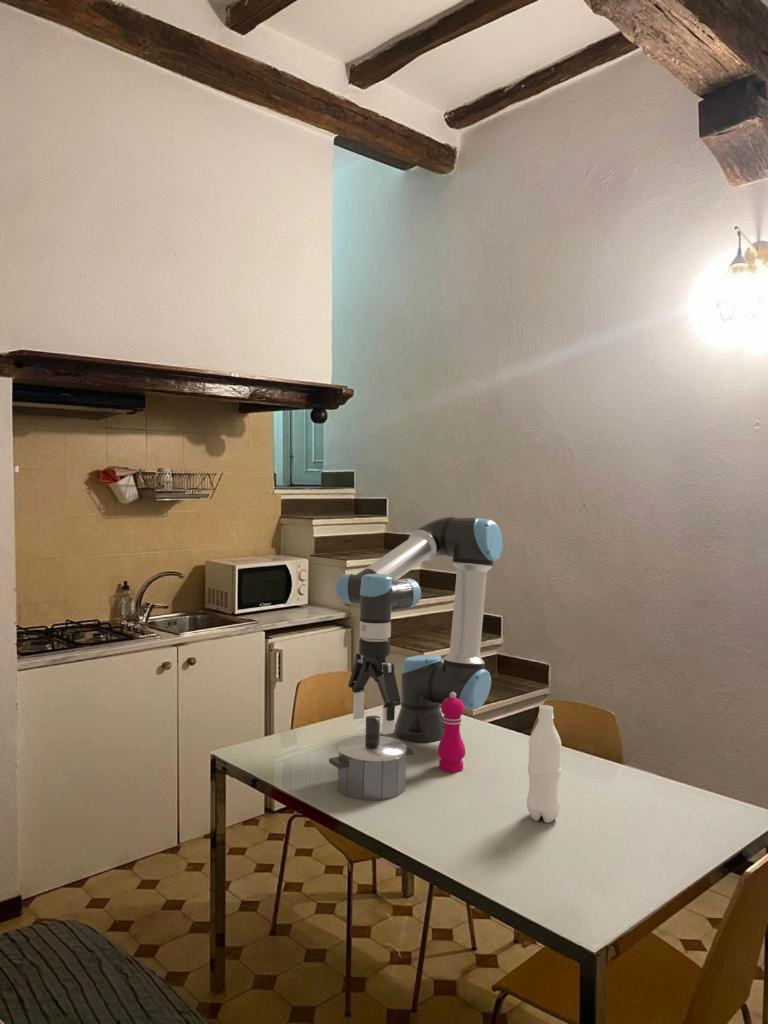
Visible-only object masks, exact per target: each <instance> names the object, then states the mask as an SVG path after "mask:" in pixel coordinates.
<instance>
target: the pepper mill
mask: <svg viewBox="0 0 768 1024" xmlns="http://www.w3.org/2000/svg"><path fill="white" fill-rule="evenodd" d="M440 710H441V714H442V717H443V722H444V726H445V728H444V734H443V737H442V739H440V740H439V741H440V742H439V744H438V746H437V755H438V757H439V758H440V759H439V761H438V767H439V769H440V770H441V771H444V772H448V773H458V772H461V771H462V770H464V761H463V759H464V757H465V756H466V748H465V744H464V742H463V739H462V737H461V736H462V735H461V730H460V728H461V724H462V722H463V721H462V719H463V717H462V715H463V714H464V712H465V709H464V704H463V702H462V701H461V700H460V699H458V698H456V693H455V692H451V693H450V698H447V699H445V700H444V701H443V702H442V704H440Z"/></svg>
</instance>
